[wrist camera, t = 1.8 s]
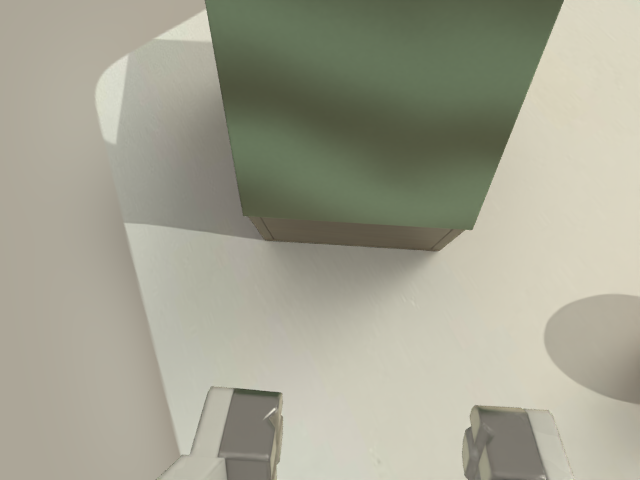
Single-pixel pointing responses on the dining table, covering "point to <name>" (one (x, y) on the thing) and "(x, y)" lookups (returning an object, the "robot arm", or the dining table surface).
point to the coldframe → (354, 234)
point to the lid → (373, 103)
